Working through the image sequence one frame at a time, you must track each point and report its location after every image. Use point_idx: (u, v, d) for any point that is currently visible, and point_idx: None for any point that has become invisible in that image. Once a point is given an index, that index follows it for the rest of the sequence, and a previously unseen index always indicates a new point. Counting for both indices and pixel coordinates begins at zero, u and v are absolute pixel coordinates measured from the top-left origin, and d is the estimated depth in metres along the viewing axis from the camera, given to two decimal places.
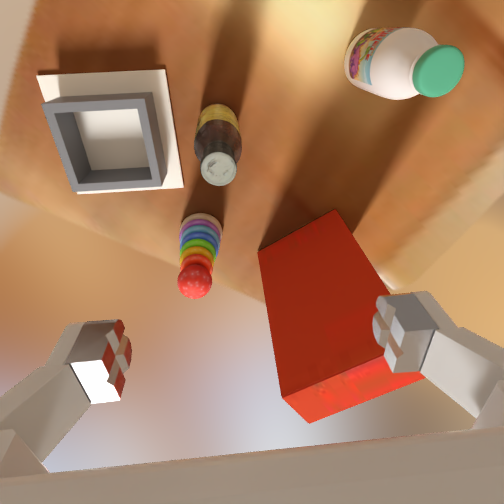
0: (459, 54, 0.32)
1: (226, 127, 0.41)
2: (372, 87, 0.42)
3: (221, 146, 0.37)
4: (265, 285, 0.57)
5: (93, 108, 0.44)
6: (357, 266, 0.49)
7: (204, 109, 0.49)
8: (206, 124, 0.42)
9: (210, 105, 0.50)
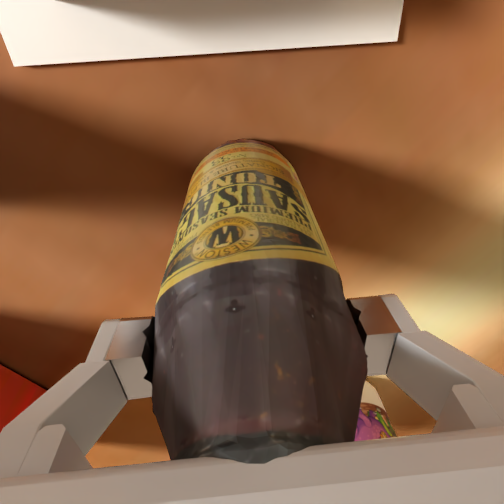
0: None
1: None
2: None
3: None
4: None
5: None
6: None
7: (292, 167, 0.17)
8: (340, 289, 0.10)
9: None
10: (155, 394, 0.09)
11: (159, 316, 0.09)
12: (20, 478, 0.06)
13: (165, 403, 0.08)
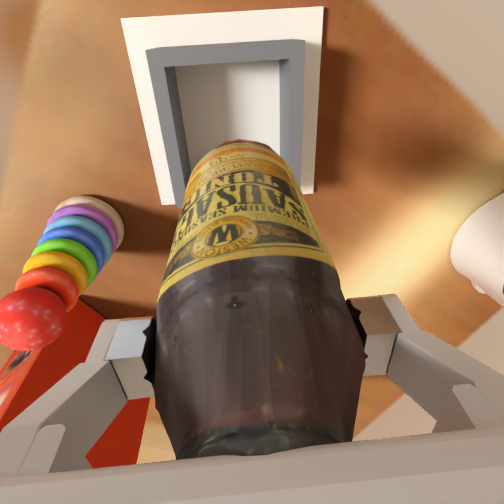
0: None
1: None
2: None
3: None
4: (39, 360, 0.37)
5: (292, 127, 0.29)
6: None
7: (289, 167, 0.17)
8: None
9: None
10: (158, 390, 0.09)
11: (161, 314, 0.09)
12: (20, 478, 0.06)
13: (169, 398, 0.08)
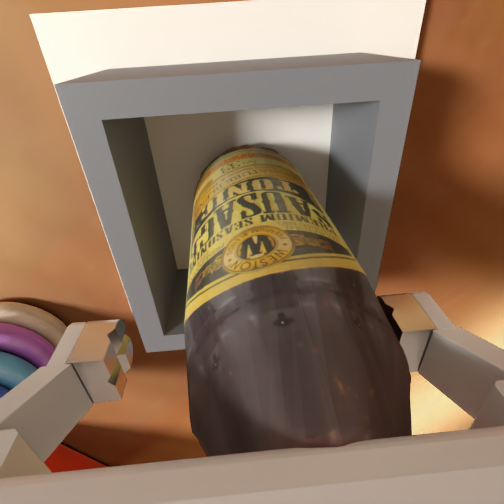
0: None
1: None
2: None
3: None
4: None
5: (368, 227, 0.15)
6: None
7: (299, 172, 0.17)
8: None
9: None
10: (195, 414, 0.08)
11: (193, 332, 0.09)
12: (20, 478, 0.06)
13: (212, 424, 0.08)
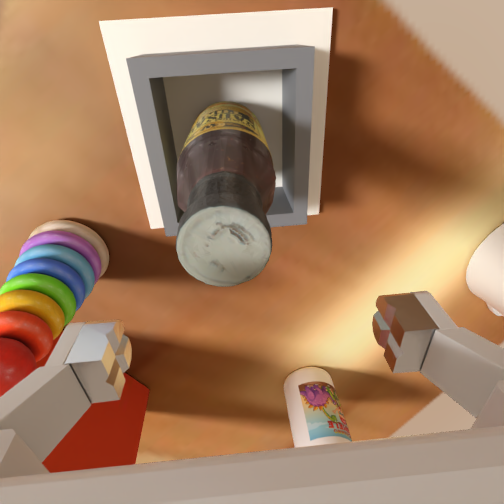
0: None
1: (271, 202, 0.20)
2: (307, 439, 0.42)
3: None
4: None
5: (299, 146, 0.26)
6: None
7: (255, 116, 0.27)
8: (267, 153, 0.20)
9: None
10: (179, 195, 0.19)
11: (179, 163, 0.19)
12: (20, 478, 0.06)
13: (184, 191, 0.18)
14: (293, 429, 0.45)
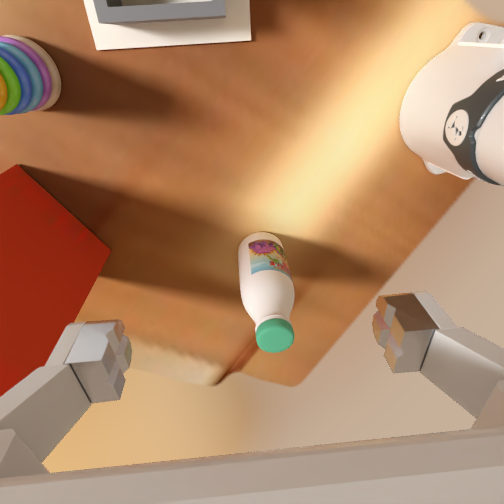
0: (288, 347, 0.40)
1: None
2: (249, 274, 0.46)
3: None
4: None
5: None
6: (57, 319, 0.39)
7: None
8: None
9: None
10: None
11: None
12: (20, 478, 0.06)
13: None
14: (240, 275, 0.49)
